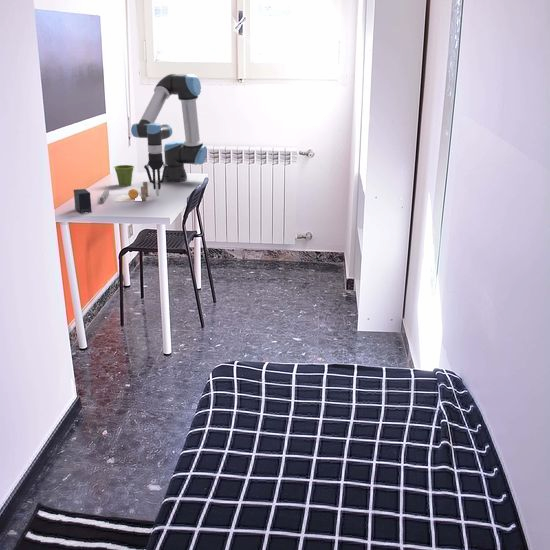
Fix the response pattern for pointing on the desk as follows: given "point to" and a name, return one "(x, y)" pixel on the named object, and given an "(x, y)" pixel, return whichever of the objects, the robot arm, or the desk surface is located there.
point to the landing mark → (124, 199)
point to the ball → (133, 193)
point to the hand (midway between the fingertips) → (157, 195)
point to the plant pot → (124, 174)
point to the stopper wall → (104, 196)
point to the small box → (82, 200)
